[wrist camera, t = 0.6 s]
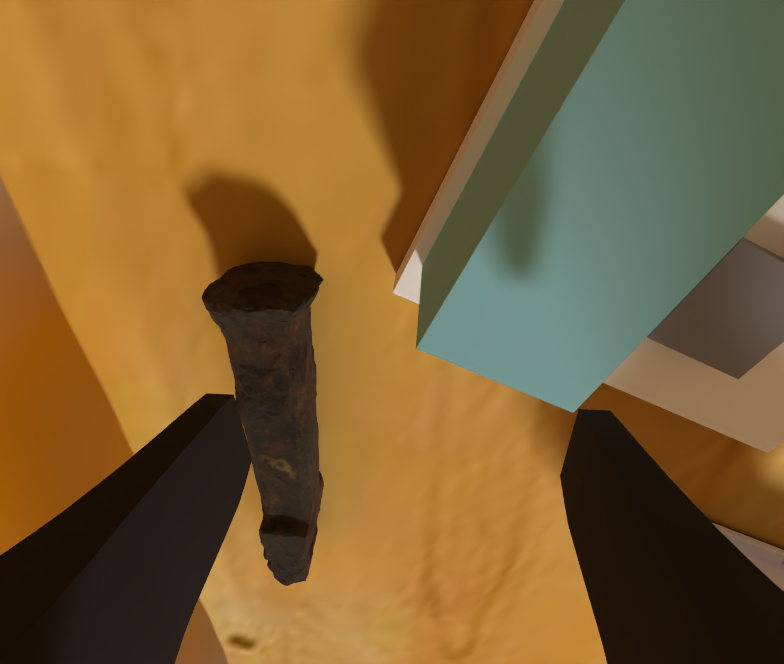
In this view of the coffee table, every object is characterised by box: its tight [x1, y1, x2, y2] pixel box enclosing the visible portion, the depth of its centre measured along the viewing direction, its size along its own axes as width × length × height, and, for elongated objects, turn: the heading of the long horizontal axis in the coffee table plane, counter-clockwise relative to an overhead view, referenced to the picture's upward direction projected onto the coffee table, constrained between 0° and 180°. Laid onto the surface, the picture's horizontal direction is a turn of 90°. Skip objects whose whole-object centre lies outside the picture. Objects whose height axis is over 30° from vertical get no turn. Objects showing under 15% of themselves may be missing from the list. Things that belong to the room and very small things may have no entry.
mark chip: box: [647, 237, 784, 379], centre depth 16 cm, size 4×4×1 cm
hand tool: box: [202, 262, 324, 586], centre depth 22 cm, size 19×4×5 cm, turn 176°
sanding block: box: [416, 0, 784, 413], centre depth 12 cm, size 5×11×5 cm, turn 156°
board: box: [393, 0, 784, 453], centre depth 16 cm, size 18×14×2 cm
